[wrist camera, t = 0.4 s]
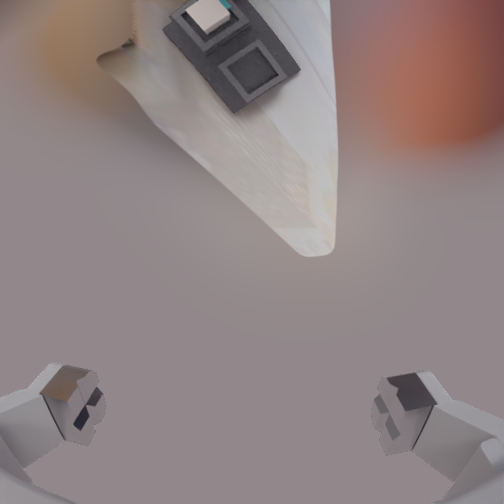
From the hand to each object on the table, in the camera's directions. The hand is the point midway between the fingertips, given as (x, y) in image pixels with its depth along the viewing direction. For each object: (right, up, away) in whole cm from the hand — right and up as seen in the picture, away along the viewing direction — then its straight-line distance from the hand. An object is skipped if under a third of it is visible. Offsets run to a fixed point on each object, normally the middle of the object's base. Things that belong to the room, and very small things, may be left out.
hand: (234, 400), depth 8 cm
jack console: (-3, +38, +35) cm, 52 cm away
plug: (-6, +38, +28) cm, 48 cm away
